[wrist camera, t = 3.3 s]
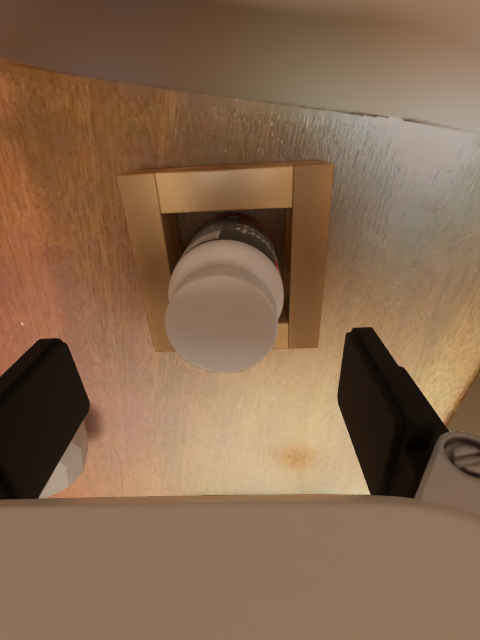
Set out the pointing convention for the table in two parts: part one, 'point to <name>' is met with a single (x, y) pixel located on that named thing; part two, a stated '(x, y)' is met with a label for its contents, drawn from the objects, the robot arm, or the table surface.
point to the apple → (68, 464)
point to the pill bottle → (225, 296)
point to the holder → (224, 195)
